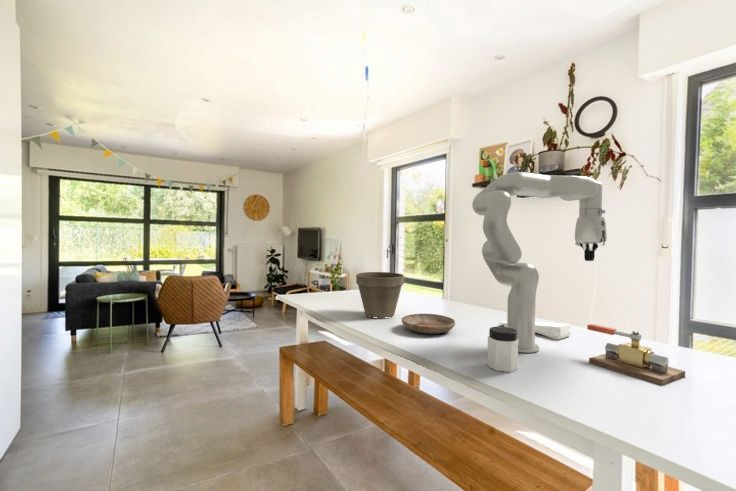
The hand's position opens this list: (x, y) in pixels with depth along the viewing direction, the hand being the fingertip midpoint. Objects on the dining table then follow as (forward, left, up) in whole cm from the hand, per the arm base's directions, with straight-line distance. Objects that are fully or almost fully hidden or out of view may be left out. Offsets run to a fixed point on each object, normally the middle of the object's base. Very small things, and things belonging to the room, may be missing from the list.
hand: (589, 260), depth 140 cm
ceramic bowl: (-45, +43, -32) cm, 70 cm away
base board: (-16, -24, -32) cm, 43 cm away
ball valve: (-16, -24, -31) cm, 42 cm away
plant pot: (-50, +77, -32) cm, 97 cm away
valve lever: (-16, -18, -23) cm, 33 cm away
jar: (-52, -4, -32) cm, 61 cm away
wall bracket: (-5, +21, -33) cm, 39 cm away
